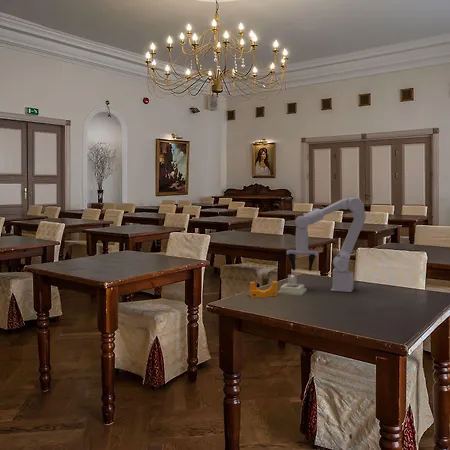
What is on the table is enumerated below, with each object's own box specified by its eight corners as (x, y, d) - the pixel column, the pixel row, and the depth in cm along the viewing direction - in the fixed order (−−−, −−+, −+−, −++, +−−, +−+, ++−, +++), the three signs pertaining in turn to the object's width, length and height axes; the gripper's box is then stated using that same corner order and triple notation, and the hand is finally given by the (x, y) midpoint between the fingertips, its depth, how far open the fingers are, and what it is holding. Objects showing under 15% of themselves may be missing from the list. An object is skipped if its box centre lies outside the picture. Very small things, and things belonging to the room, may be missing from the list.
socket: (306, 290, 230) (306, 284, 230) (301, 295, 220) (301, 289, 220) (284, 288, 235) (284, 282, 234) (277, 293, 224) (277, 287, 224)
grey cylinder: (297, 289, 228) (297, 274, 228) (295, 291, 225) (295, 276, 224) (288, 288, 230) (288, 274, 229) (287, 290, 226) (287, 275, 225)
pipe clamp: (250, 298, 218) (250, 283, 218) (250, 295, 223) (250, 281, 222) (277, 297, 219) (277, 283, 218) (276, 295, 223) (276, 281, 222)
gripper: (284, 242, 230) (285, 270, 231) (315, 243, 224) (315, 272, 226) (288, 240, 236) (288, 268, 237) (318, 241, 231) (318, 269, 232)
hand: (302, 270), depth 232 cm, fingers open, 7 cm apart
